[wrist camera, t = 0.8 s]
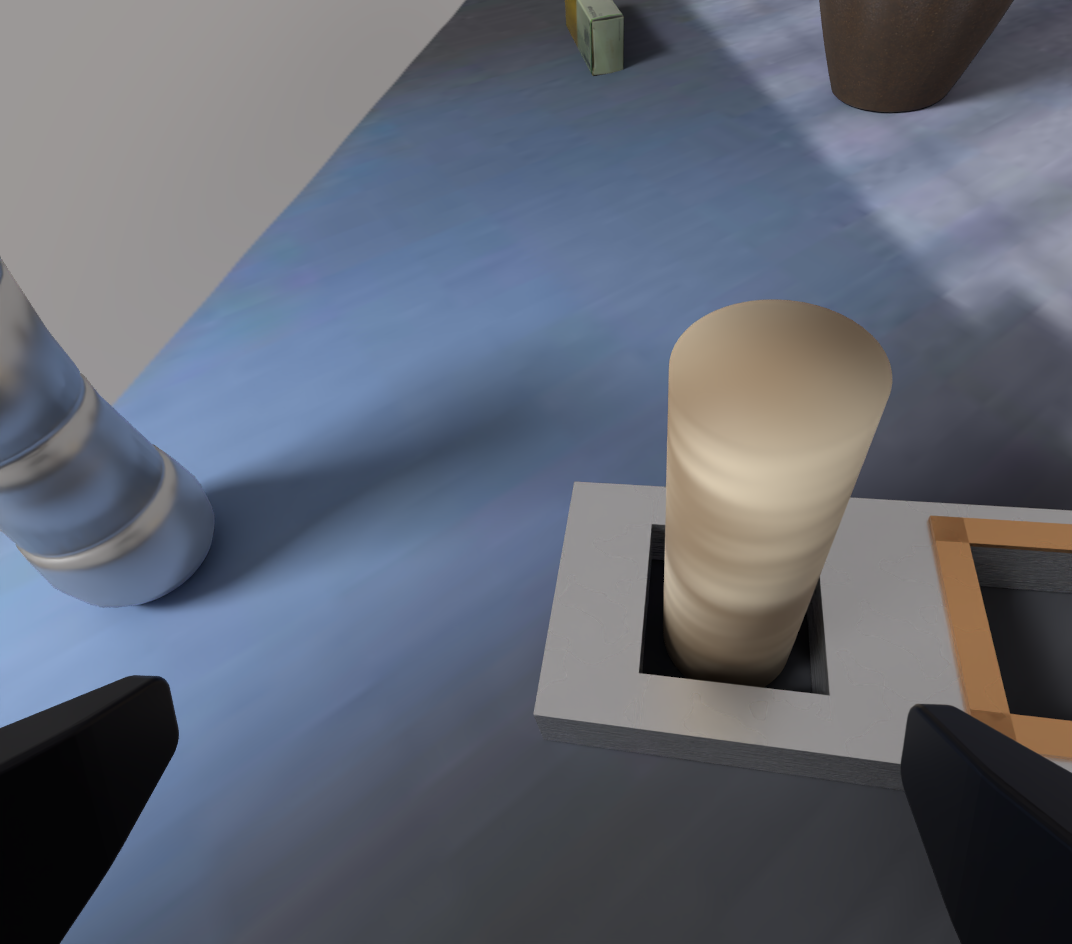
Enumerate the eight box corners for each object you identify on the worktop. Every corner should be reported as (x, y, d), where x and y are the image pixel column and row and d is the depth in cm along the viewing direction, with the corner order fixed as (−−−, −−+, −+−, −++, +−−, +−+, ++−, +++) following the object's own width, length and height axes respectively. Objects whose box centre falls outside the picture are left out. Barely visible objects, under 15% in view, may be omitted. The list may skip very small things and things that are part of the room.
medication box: (626, 72, 54) (625, 15, 51) (592, 79, 54) (590, 21, 51) (594, 21, 62) (592, -32, 59) (564, 26, 62) (561, -27, 58)
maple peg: (818, 645, 24) (942, 374, 13) (721, 720, 22) (776, 486, 12) (728, 558, 26) (776, 274, 16) (638, 622, 25) (627, 360, 15)
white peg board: (1209, 561, 23) (1264, 517, 21) (1349, 853, 18) (1439, 833, 16) (579, 517, 28) (573, 478, 26) (543, 739, 23) (532, 712, 21)
